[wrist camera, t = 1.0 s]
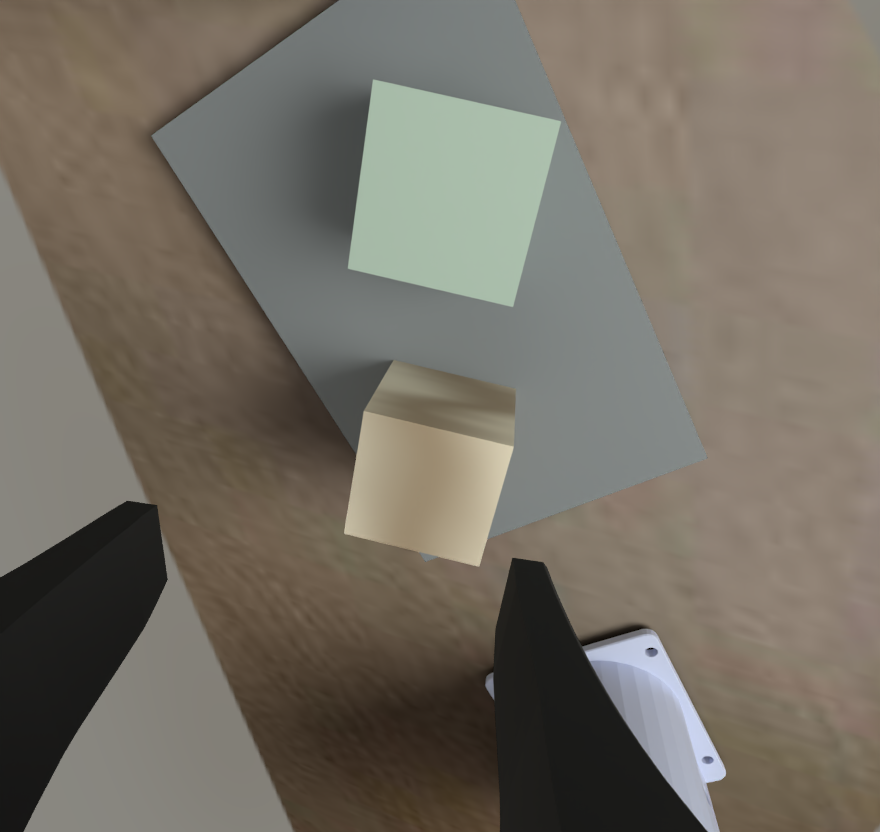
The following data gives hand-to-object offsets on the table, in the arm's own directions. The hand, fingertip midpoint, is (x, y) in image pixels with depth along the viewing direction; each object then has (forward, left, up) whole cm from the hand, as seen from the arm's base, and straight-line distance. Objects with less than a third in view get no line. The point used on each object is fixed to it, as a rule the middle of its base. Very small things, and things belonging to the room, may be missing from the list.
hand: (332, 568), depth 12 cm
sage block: (+5, -4, -10) cm, 12 cm away
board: (+2, -2, -11) cm, 12 cm away
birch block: (-2, 0, -10) cm, 11 cm away
